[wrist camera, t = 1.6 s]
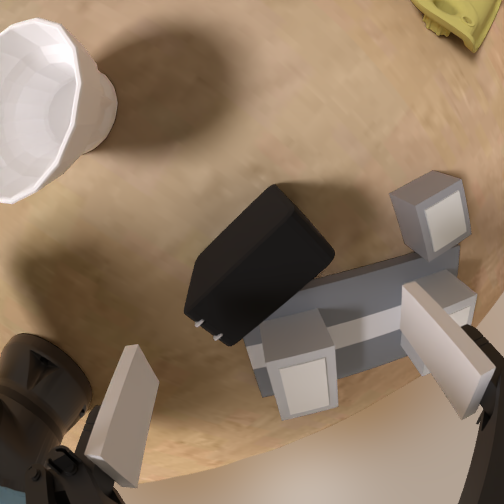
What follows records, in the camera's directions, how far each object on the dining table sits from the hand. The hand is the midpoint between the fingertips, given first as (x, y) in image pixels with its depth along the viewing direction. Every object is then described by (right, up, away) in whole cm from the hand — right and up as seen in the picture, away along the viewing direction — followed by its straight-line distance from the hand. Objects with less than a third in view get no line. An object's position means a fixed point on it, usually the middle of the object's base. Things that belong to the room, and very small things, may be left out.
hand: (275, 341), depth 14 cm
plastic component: (+21, +33, +5) cm, 40 cm away
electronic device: (-1, +6, +14) cm, 16 cm away
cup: (-17, +17, +9) cm, 26 cm away
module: (+16, +9, +14) cm, 23 cm away
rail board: (+11, -4, +19) cm, 22 cm away
